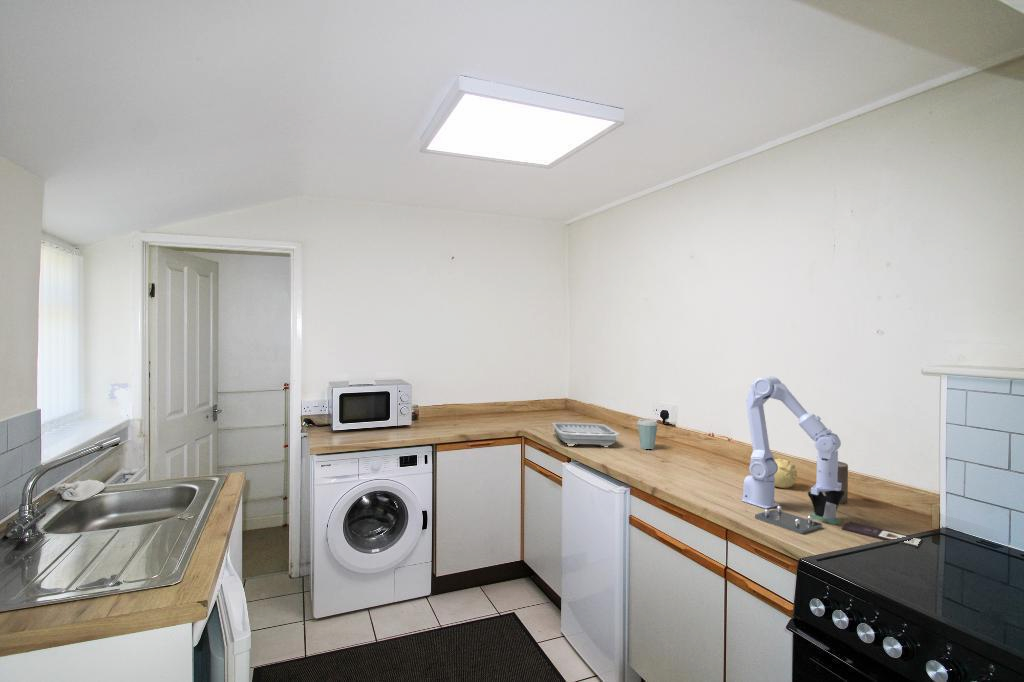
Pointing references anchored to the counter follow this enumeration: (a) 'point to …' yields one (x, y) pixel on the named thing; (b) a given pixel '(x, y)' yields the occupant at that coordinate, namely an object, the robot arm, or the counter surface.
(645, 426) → the disposable coffee cup
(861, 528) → the chocolate bar
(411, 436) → the counter surface
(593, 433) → the dish rack
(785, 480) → the sculpture
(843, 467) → the pillar candle
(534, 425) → the counter surface
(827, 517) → the green base grey block
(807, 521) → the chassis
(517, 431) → the counter surface
